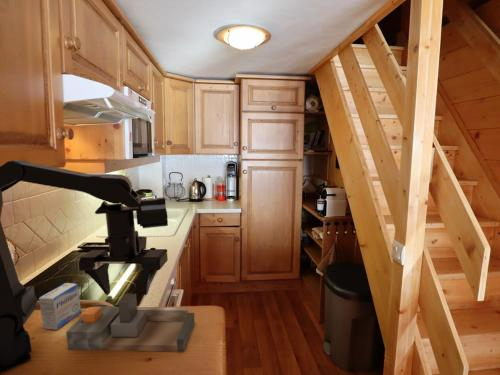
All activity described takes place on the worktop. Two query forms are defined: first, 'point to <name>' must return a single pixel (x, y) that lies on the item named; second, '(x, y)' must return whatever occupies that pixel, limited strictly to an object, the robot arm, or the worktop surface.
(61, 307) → the medicine box
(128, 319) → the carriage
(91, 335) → the rail
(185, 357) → the worktop surface
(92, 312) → the button
